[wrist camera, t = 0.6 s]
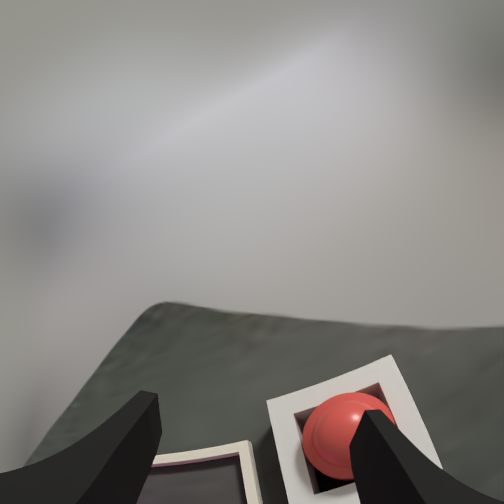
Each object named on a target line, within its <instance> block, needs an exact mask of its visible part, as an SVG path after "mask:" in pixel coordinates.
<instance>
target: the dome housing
mask: <svg viewBox="0 0 504 504" xmlns="http://www.w3.org/2000/svg"><path fill="white" fill-rule="evenodd" d="M350 392H359V393H365V394H369V395H371V396H374V397H376V398H377V399H378V398H379V400H380V401H382V402H383V403H384V404H385V405H386V406H387V407H388V409H389V410H390V412H391V414H392V416H393V419H394V423H395V426H396V427H397V428H398V429H399V430H400V431H401V432H402V433H403V434H404V435H405V436H406V437H407V438H408V439H409V440H410V441H411V442H412V443H413V444H414V445H415V446H416V447H417V448H418V449H419V450H420V451H421V452H422V453H423V454H424V455H425V456H427V457H428V458H429V459H430V460H431V461H432V462H433V463H435V464H436V465H437V466H438V467H440V468H441V469H443V468H442V466H441V463H440V461H439V458H438V456H437V453H436V451H435V449H434V446H433V444H432V441H431V439H430V437H429V434H428V432H427V430H426V427H425V425H424V423H423V421H422V418H421V416H420V414H419V412H418V409H417V407H416V405H415V403H414V401H413V399H412V396H411V394H410V392H409V390H408V388H407V386H406V384H405V382H404V379H403V377H402V375H401V373H400V371H399V369H398V367H397V365H396V363H395V361H394V359H393V357H392V355H389V356H386V357H384V358H382V359H380V360H377V361H375V362H373V363H370V364H368V365H366V366H363V367H361V368H358V369H356V370H354V371H351V372H349V373H346V374H343V375H341V376H338V377H336V378H333V379H330V380H328V381H325V382H322V383H319V384H317V385H314V386H311V387H308V388H305V389H302V390H299V391H296V392H293V393H290V394H287V395H284V396H281V397H277V398H274V399H271V400H267V406H268V410H269V415H270V420H271V424H272V429H273V434H274V438H275V443H276V448H277V452H278V457H279V461H280V466H281V470H282V475H283V480H284V484H285V488H286V493H287V497H288V502H289V504H360V500H359V496H358V492H357V489H356V485H355V482H354V483H351V484H348V485H345V486H342V487H339V488H336V489H332V490H329V491H326V492H322V493H320V490H319V486H318V482H317V478H316V474H315V471H314V467H313V465H312V464H311V462H310V461H309V460H308V458H307V456H306V454H305V452H304V449H303V444H302V436H303V430H304V429H303V426H305V424H306V421H307V420H308V418H309V416H310V415H311V413H312V412H313V411H314V410H315V409H316V408H317V407H318V406H319V405H320V404H321V403H323V402H324V401H326V400H328V399H329V398H331V397H334V396H336V395H339V394H343V393H350Z"/></svg>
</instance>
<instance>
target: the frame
mask: <svg viewBox="0 0 504 504" xmlns="http://www.w3.org/2000/svg"><path fill="white" fill-rule="evenodd" d="M236 455H239V456H240V462H241V468H242V474H243V480H244V486H245V492H246V498H247V503H248V504H263V502H262V496H261V491H260V486H259V481H258V475H257V470H256V465H255V459H254V454H253V448H252V443H251V442H249V441H248V440H245V441H241V442H236V443H232V444H227V445H222V446H217V447H211V448H206V449H200V450H194V451H187V452H180V453H173V454H165V455H156V456H155V459H154V461H153V464H152V466H151V467H160V466H171V465H180V464H188V463H195V462H202V461H209V460H215V459H220V458H226V457H231V456H236Z"/></svg>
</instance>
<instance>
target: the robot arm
mask: <svg viewBox="0 0 504 504" xmlns="http://www.w3.org/2000/svg"><path fill="white" fill-rule="evenodd" d="M161 434H162V427H161V419H160V411H159V403H158V394H156V393H151V392H146V391H142V390H141V391H139V392H138V393H137V394H136V395H135V396H134V397H133V398H131V399H130V400H129V401H128V402H127V403H126V404H125V405H124V406H123V407H122V408H120V409H119V410H118V411H117V412H116V413H115V414H113V415H112V416H111V417H110V418H109V419H107V420H106V421H105V422H104V423H103V424H101V425H100V426H99V427H97V428H96V429H95V430H93V431H92V432H91V433H89V434H88V435H86V436H85V437H84V438H82V439H81V440H79V441H78V442H76V443H74V444H73V445H71V446H69V447H68V448H66V449H64V450H62V451H60V452H59V453H57V454H55V455H52V456H50V457H48V458H46V459H44V460H42V461H39V462H37V463H34V464H31V465H28V466H25V467H22V468H19V469H16V470H12V471H9V472H4V473H0V504H136V503H137V500H138V497H139V495H140V493H141V490H142V488H143V485H144V483H145V481H146V478H147V476H148V473H149V471H150V468H151V466H152V464H153V461H154V459H155V456H156V453H157V450H158V446H159V442H160V438H161ZM349 450H350V460H351V468H352V473H353V477H354V481H355V485H356V489H357V492H358V496H359V500H360V504H504V502H503V501H499V500H497V499H494V498H491V497H489V496H486V495H484V494H482V493H480V492H478V491H476V490H474V489H472V488H470V487H468V486H466V485H465V484H463V483H461V482H460V481H458V480H456V479H455V478H453V477H452V476H451V475H449V474H448V473H446V472H445V471H444V470H442V469H441V468H440V467H438V466H437V465H436V464H435V463H433V462H432V461H431V460H430V459H429V458H428V457H427V456H425V455H424V454H423V453H422V452H421V451H420V450H419V449H418V448H417V447H416V446H415V445H414V444H413V443H412V442H411V441H410V440H409V439H408V438H407V437H406V436H405V435H404V434H403V433H402V432H401V431H400V430H399V429H398V428H397V427H396V426H395V424H394V423H393V422H392V421H391V420H390V419H389V418H388V417H387V416H386V415H385V414H384V413H383V412H382V411H381V410H380V409H374V410H364V413H363V415H362V418H361V420H360V422H359V425H358V427H357V429H356V432H355V434H354V436H353V438H352V440H351V443H350V445H349Z"/></svg>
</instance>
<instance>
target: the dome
mask: <svg viewBox="0 0 504 504" xmlns="http://www.w3.org/2000/svg"><path fill="white" fill-rule="evenodd" d="M374 409H380V410H381V411H382V412H383V413H384V414H385V415H386V416H387V417H388V418H389V419H390V420H391V421H392V422H393V423H394V419H393V416H392V414H391V412H390V410H389V409H388V407H387V406H386V405H385V404H384V403H383V402H382V401H380V400H379V399H377V398H376V397H374V396H371V395H369V394H365V393H359V392H350V393H343V394H339V395H336V396H334V397H331V398H329V399H328V400H326V401H324V402H323V403H321V404H320V405H319V406H318V407H317V408H316V409H315V410H314V411H313V412H312V413H311V415H310V416H309V418H308V420H307V421H306V424H305V426H304V430H303V436H302V444H303V449H304V452H305V454H306V456H307V458H308V460H309V461H310V462H311V464H312V465H313V466H314V467H315V468H317V469H318V470H319V471H320V472H322V473H323V474H324V475H326V476H328V477H330V478H333V479H337V480H344V481H349V480H354V477H353V473H352V468H351V460H350V450H349V445H350V443H351V440H352V438H353V436H354V434H355V432H356V429H357V427H358V425H359V422H360V420H361V418H362V415H363V413H364V410H374ZM394 424H395V423H394Z"/></svg>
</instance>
